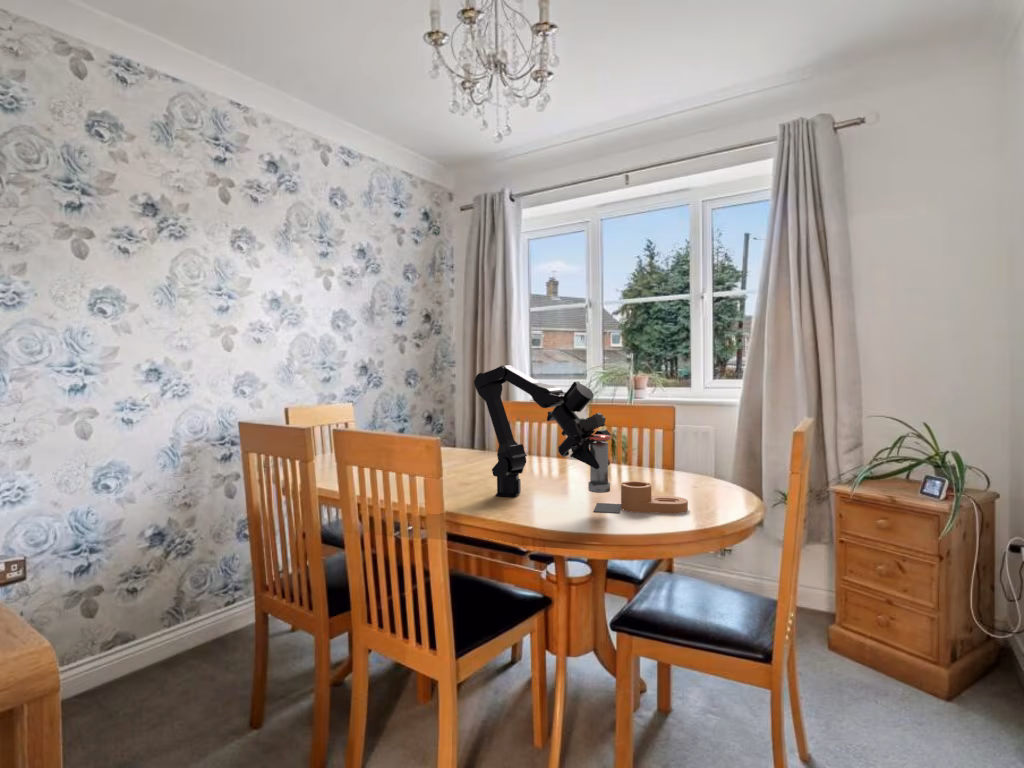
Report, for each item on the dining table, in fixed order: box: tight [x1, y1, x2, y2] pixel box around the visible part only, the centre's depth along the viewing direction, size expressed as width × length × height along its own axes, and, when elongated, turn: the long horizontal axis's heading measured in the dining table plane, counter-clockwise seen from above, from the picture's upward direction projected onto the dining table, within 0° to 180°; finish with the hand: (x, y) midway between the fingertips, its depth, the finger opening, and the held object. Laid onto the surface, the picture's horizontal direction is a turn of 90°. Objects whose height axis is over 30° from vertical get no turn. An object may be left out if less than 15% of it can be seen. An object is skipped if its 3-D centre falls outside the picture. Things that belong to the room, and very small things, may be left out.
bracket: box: [620, 480, 689, 514], centre depth 157 cm, size 18×8×7 cm, turn 80°
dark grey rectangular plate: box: [593, 502, 622, 514], centre depth 158 cm, size 7×9×1 cm
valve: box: [588, 434, 612, 494], centre depth 153 cm, size 6×6×15 cm
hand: (603, 466), depth 152 cm, fingers closed on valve, 5 cm apart
